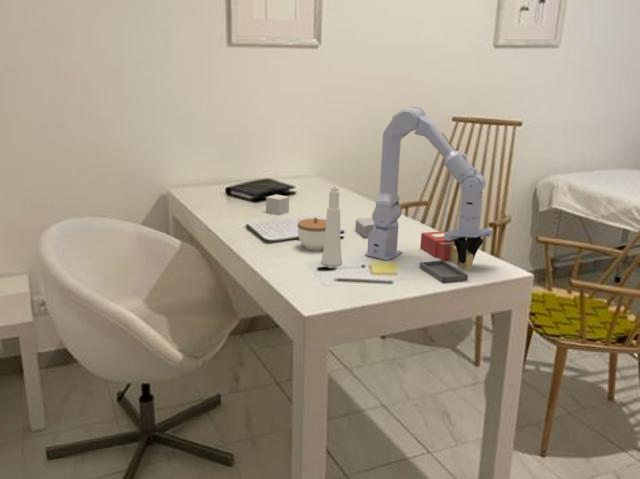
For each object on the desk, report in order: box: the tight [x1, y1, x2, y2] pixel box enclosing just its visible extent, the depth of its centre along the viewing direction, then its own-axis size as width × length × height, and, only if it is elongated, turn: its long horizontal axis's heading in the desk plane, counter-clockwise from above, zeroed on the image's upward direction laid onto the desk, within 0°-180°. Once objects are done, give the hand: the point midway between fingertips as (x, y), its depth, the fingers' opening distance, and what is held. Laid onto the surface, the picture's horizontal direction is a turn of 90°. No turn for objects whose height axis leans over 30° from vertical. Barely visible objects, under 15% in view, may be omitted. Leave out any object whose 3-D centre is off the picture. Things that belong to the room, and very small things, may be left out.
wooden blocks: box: [449, 245, 474, 270], centre depth 190 cm, size 10×2×4 cm, turn 20°
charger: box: [354, 217, 374, 239], centre depth 220 cm, size 5×9×15 cm
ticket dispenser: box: [420, 230, 455, 262], centre depth 199 cm, size 13×8×5 cm, turn 20°
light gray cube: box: [265, 194, 290, 216], centre depth 241 cm, size 6×6×6 cm
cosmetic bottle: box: [320, 186, 343, 267], centre depth 185 cm, size 6×6×22 cm
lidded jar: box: [297, 217, 326, 251], centre depth 200 cm, size 11×11×9 cm
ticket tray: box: [419, 259, 469, 284], centre depth 181 cm, size 13×8×2 cm, turn 20°
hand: (465, 262), depth 188 cm, fingers closed on wooden blocks, 2 cm apart
